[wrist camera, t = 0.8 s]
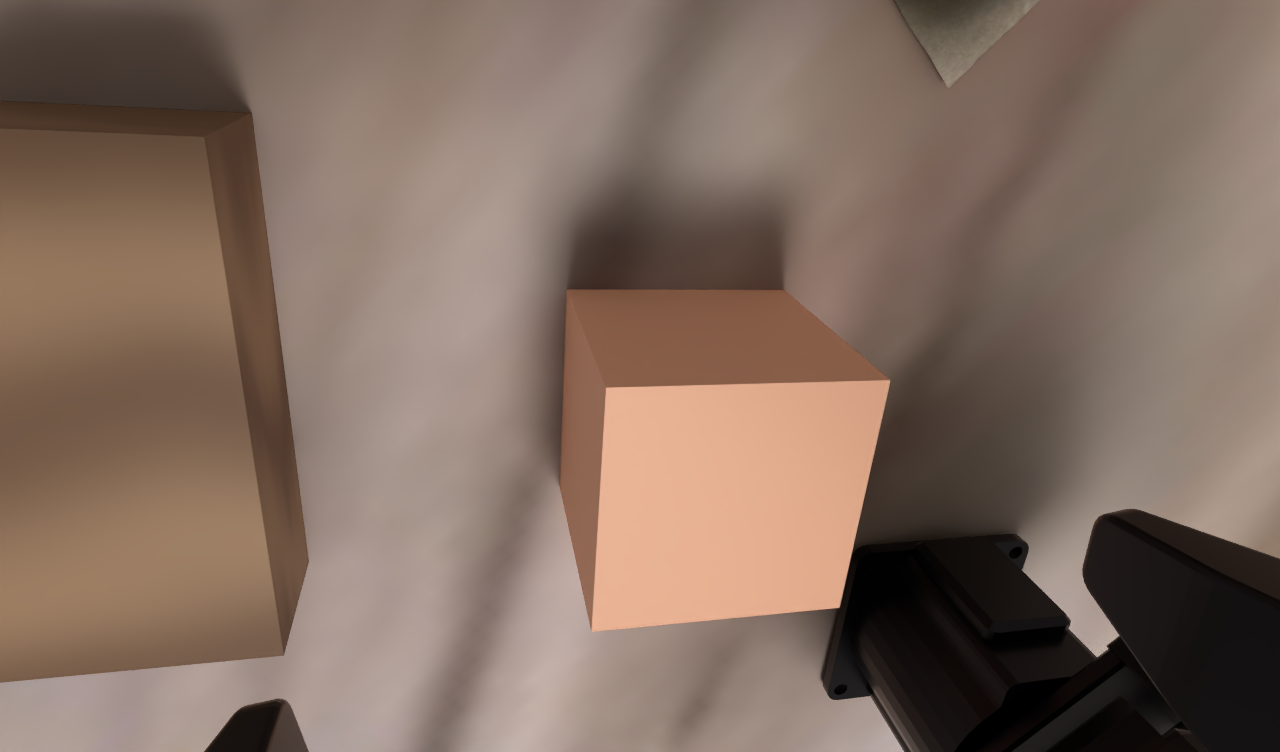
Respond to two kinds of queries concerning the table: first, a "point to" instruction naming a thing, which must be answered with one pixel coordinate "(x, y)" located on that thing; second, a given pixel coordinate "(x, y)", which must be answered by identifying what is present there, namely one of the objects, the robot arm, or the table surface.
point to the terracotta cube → (711, 454)
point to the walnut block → (140, 396)
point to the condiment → (960, 29)
